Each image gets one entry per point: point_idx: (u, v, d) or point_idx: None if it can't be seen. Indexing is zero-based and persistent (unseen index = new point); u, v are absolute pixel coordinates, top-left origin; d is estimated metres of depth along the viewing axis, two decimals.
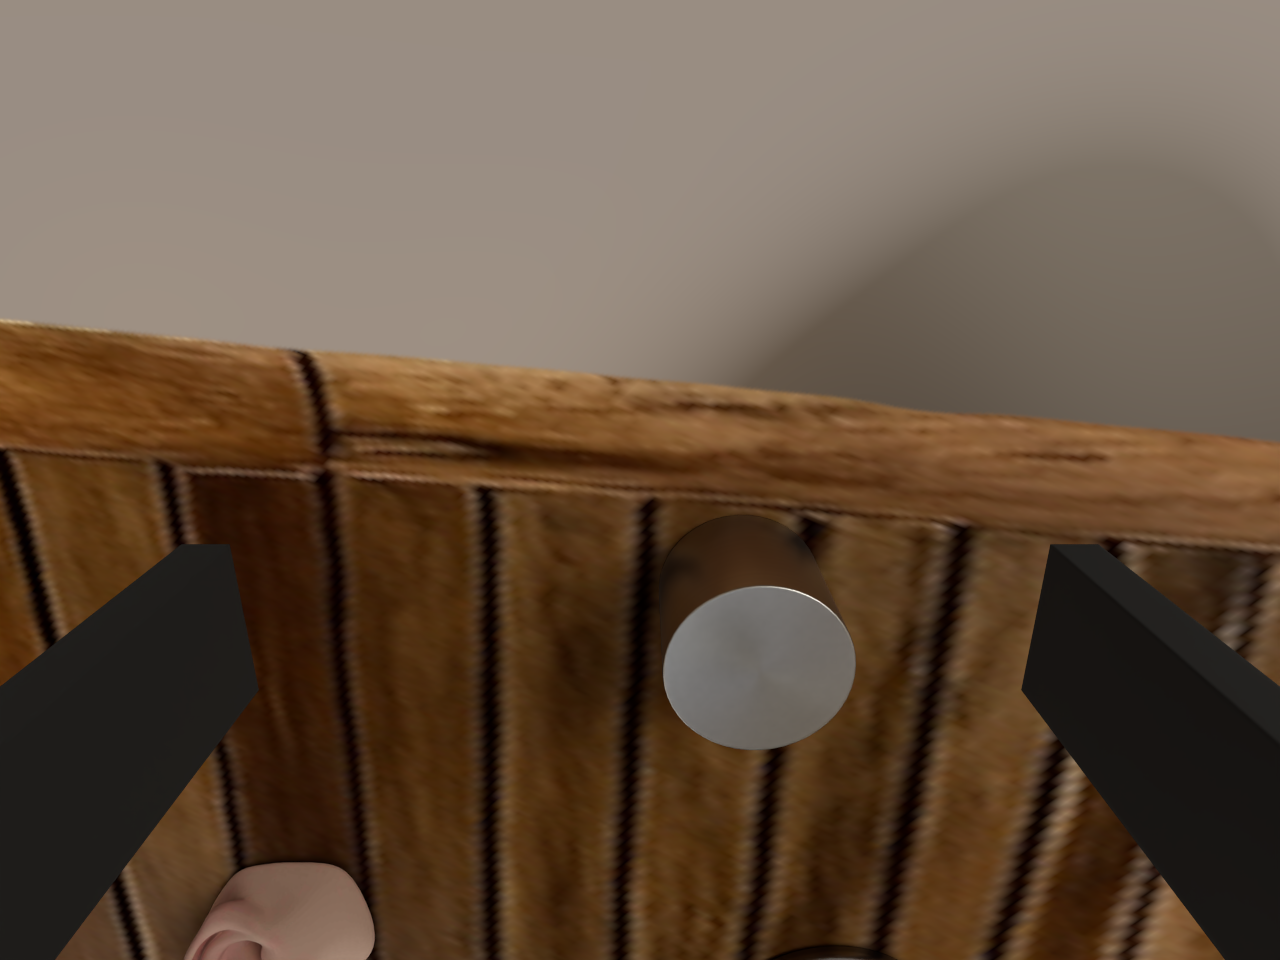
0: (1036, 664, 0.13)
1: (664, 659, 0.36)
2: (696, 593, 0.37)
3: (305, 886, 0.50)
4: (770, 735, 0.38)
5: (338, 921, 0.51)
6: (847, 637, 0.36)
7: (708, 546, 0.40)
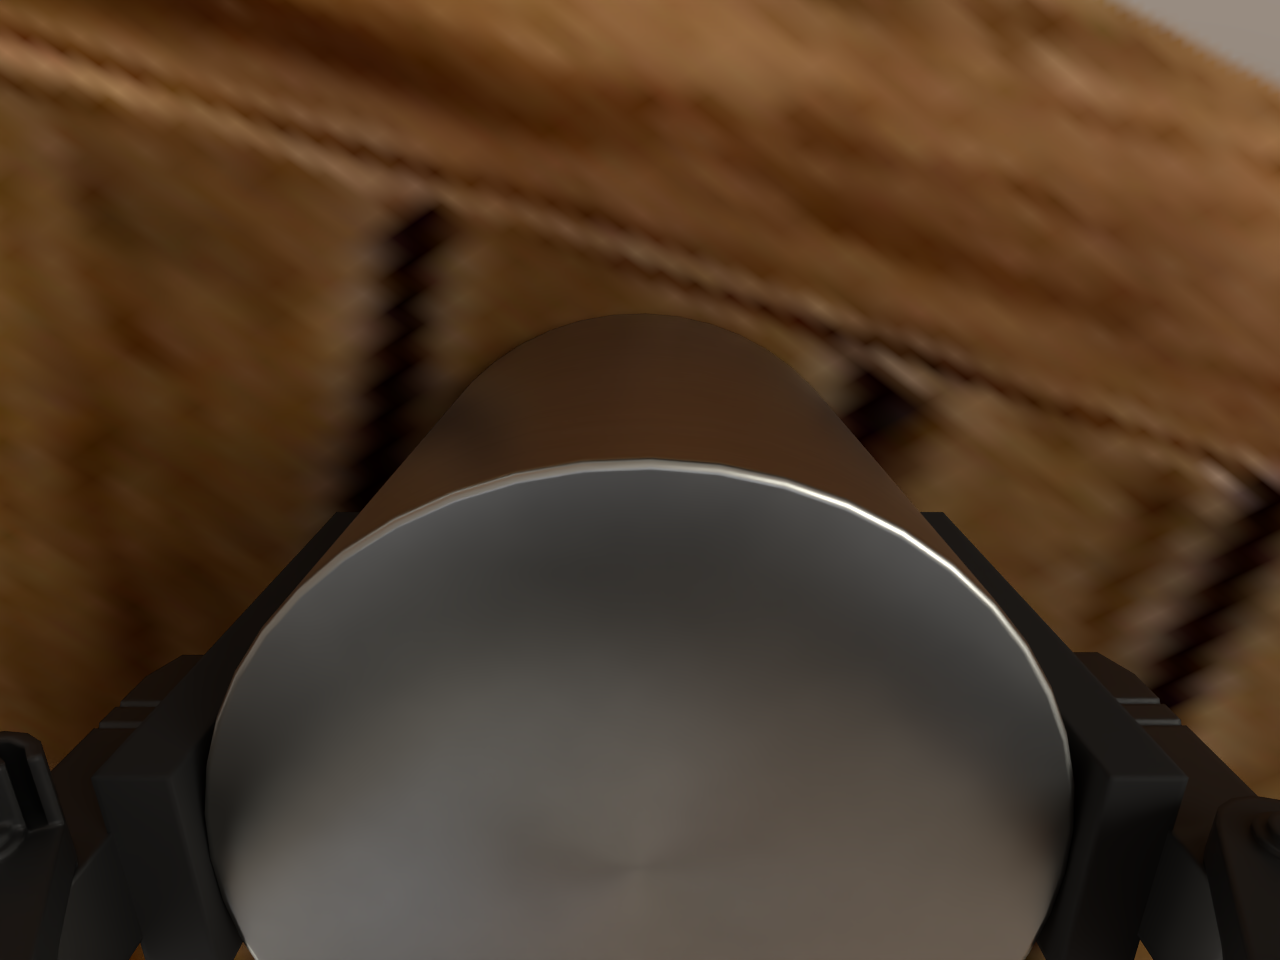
0: None
1: (215, 738, 0.08)
2: (433, 466, 0.08)
3: None
4: None
5: None
6: (1063, 794, 0.08)
7: (561, 354, 0.11)
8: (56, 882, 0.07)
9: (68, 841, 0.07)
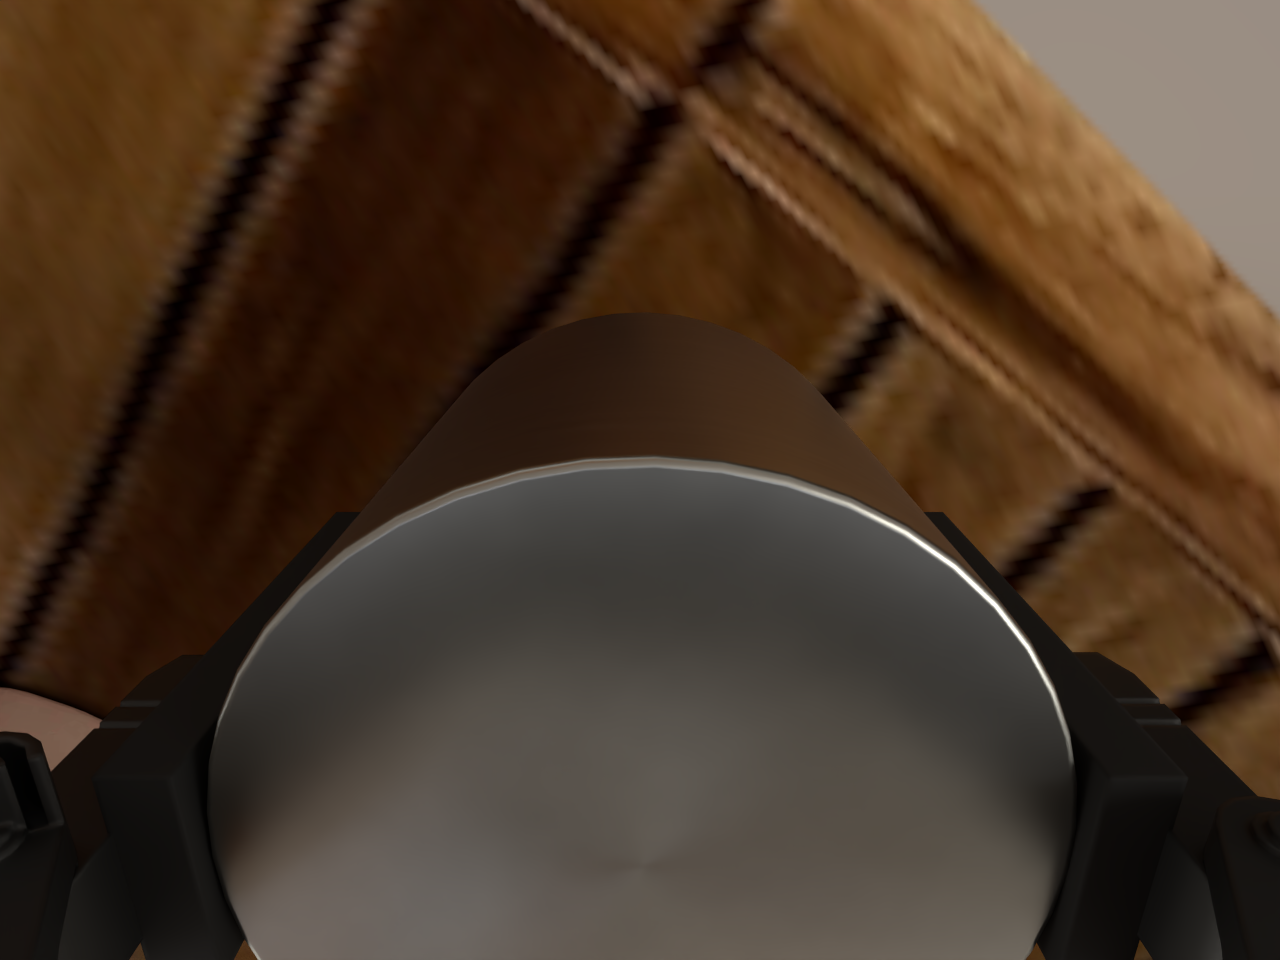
0: None
1: (217, 736, 0.08)
2: (435, 463, 0.08)
3: None
4: None
5: None
6: (1066, 793, 0.08)
7: (563, 352, 0.11)
8: (57, 881, 0.07)
9: (69, 840, 0.07)
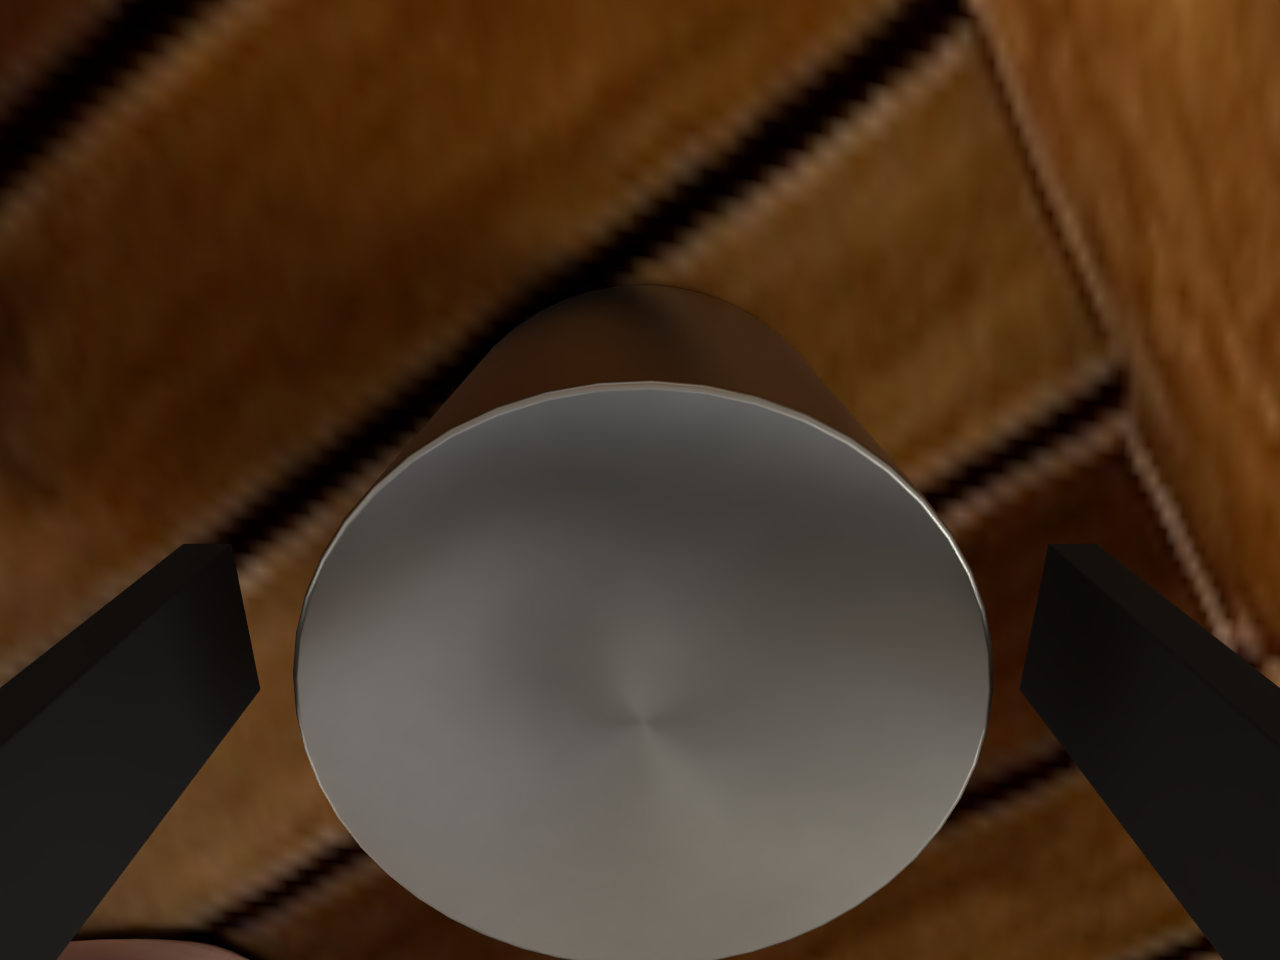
0: (1034, 663, 0.13)
1: (303, 612, 0.10)
2: (476, 396, 0.10)
3: None
4: (637, 929, 0.11)
5: None
6: (983, 659, 0.10)
7: (576, 315, 0.13)
8: None
9: None
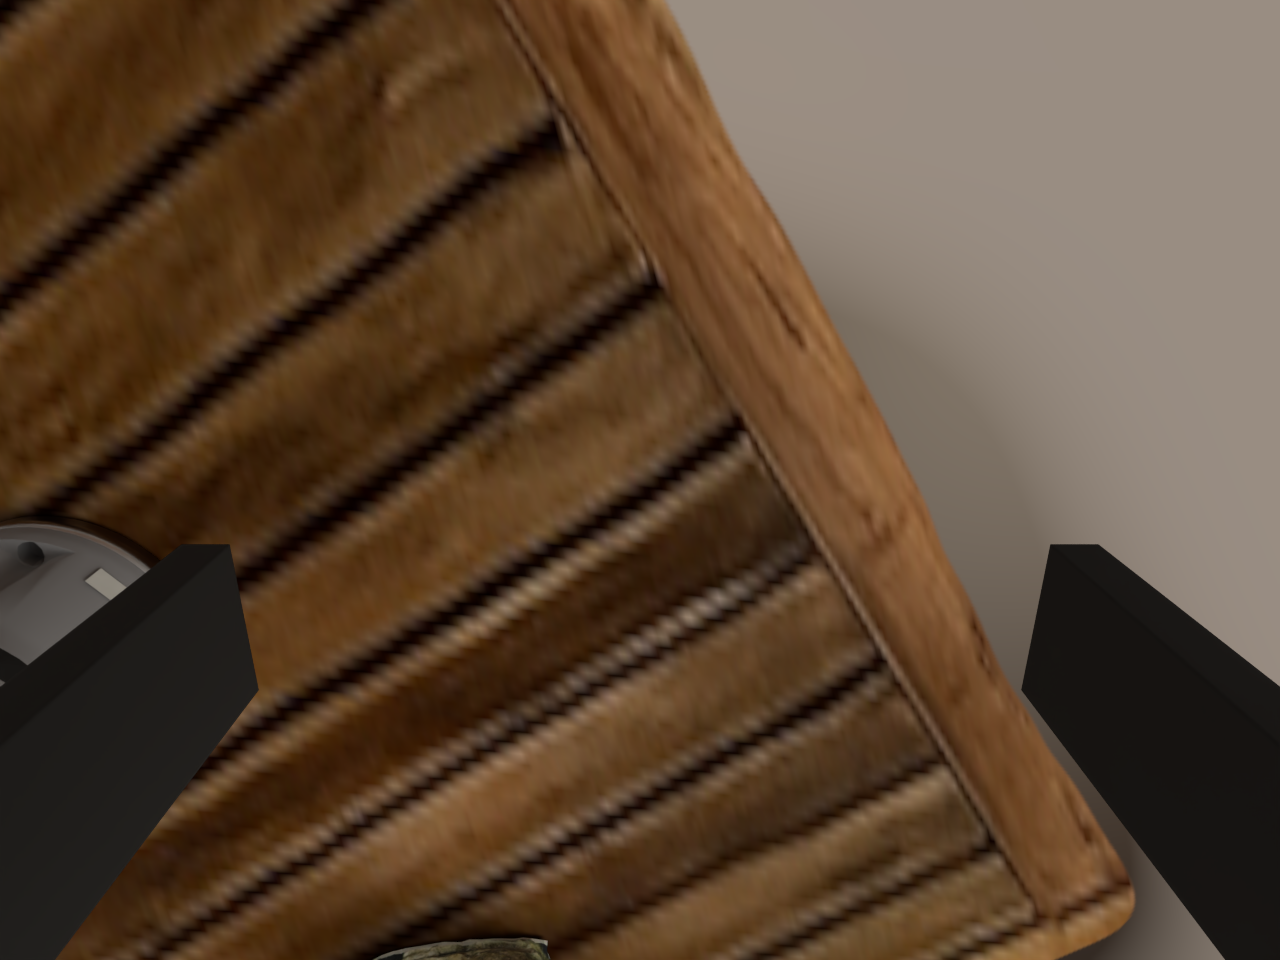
0: (1035, 664, 0.13)
1: None
2: None
3: None
4: None
5: None
6: None
7: None
8: None
9: None
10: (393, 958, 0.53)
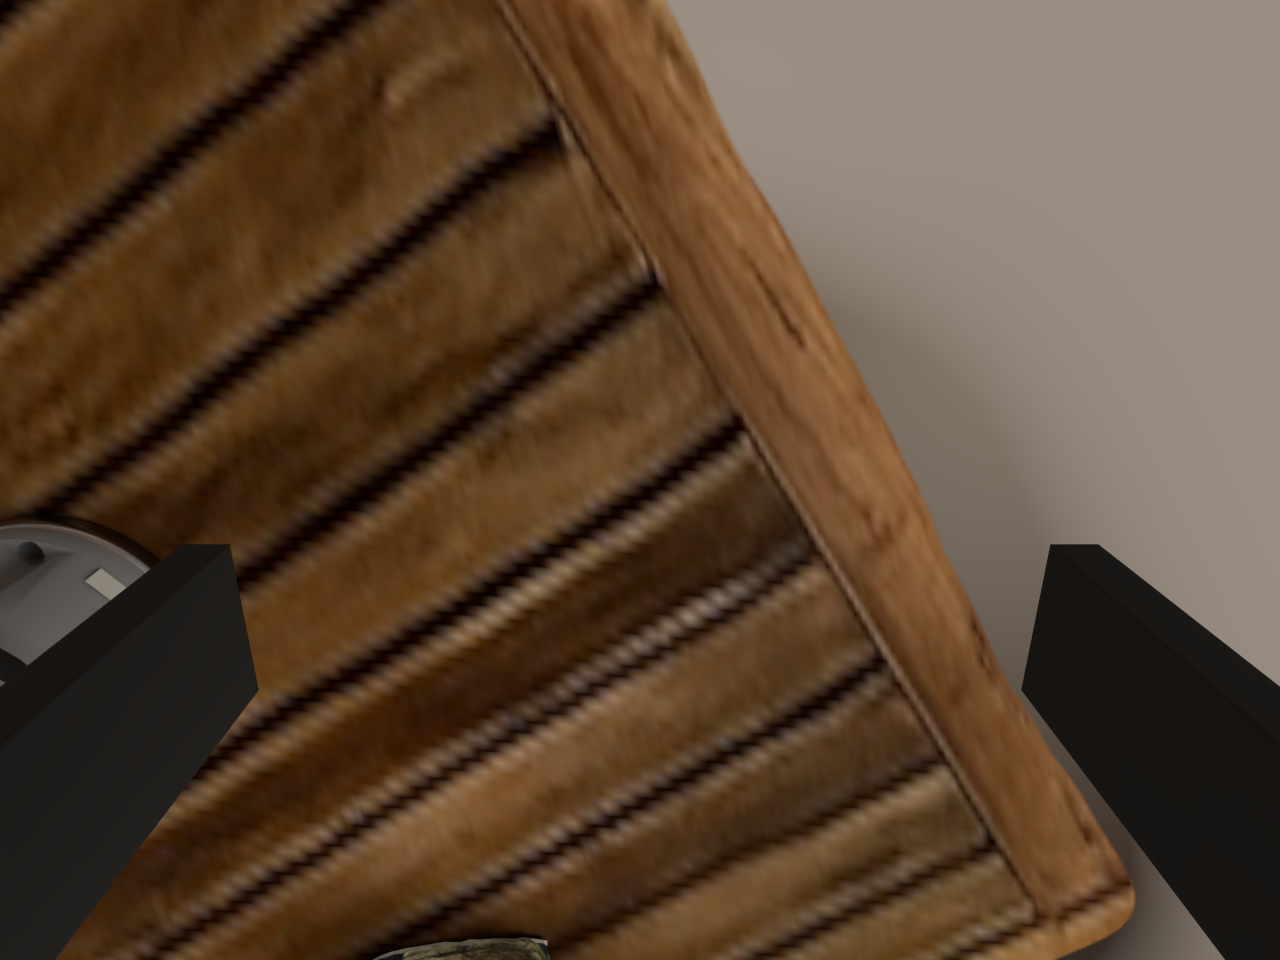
0: (1035, 664, 0.13)
1: None
2: None
3: None
4: None
5: None
6: None
7: None
8: None
9: None
10: (393, 958, 0.53)
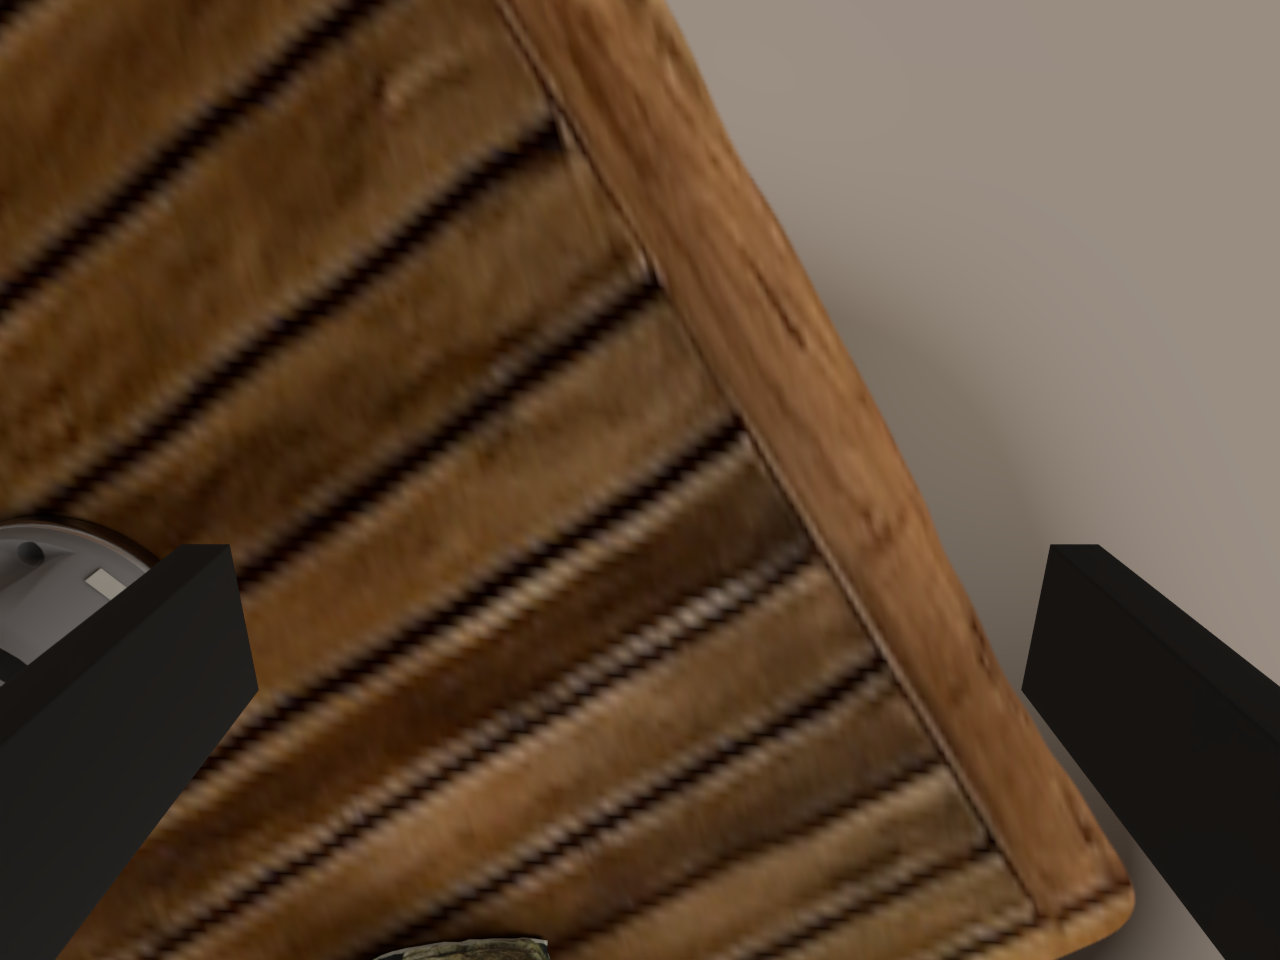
0: (1035, 664, 0.13)
1: None
2: None
3: None
4: None
5: None
6: None
7: None
8: None
9: None
10: (393, 958, 0.53)
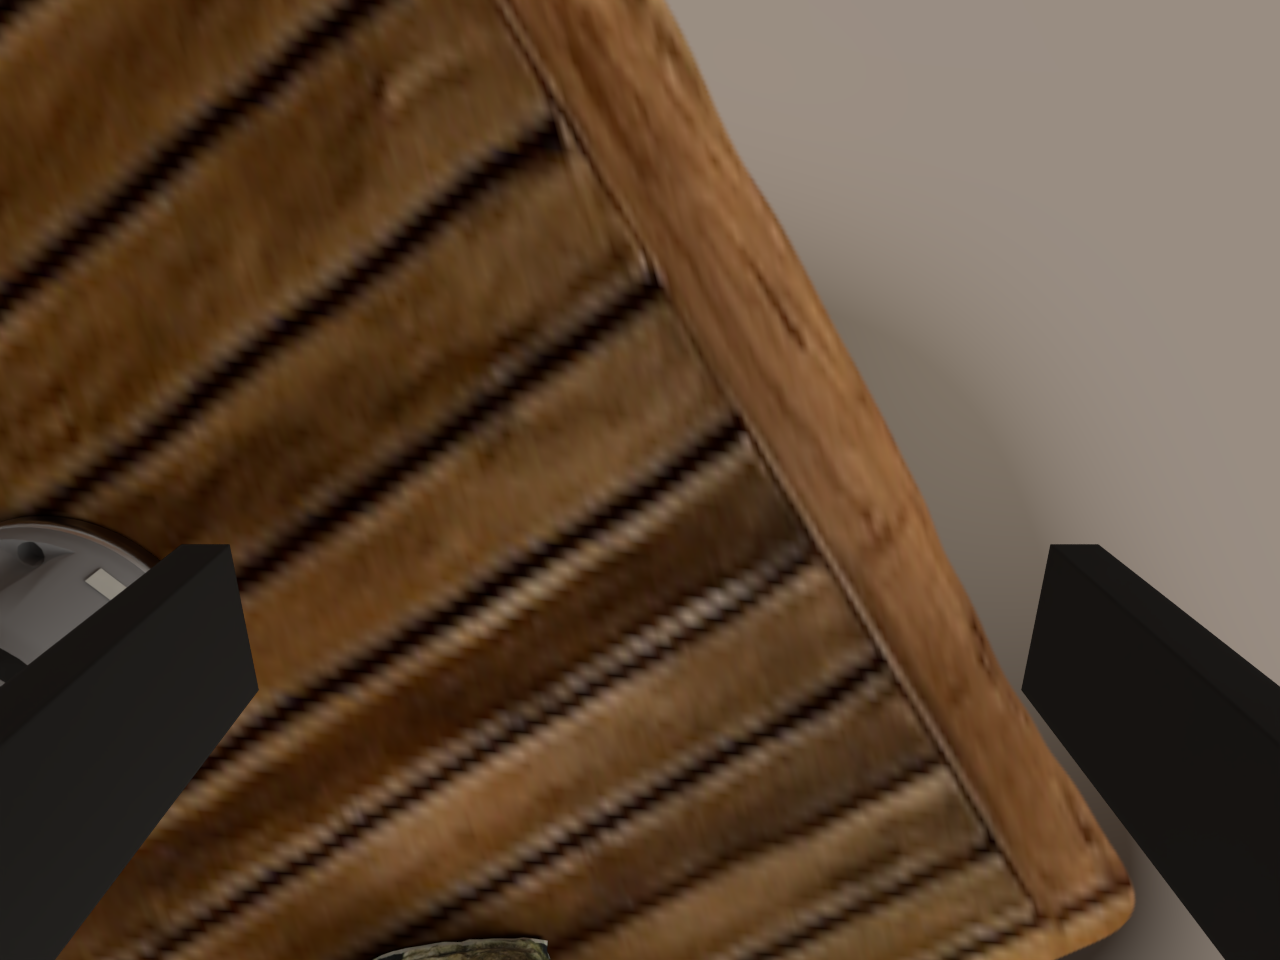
0: (1035, 664, 0.13)
1: None
2: None
3: None
4: None
5: None
6: None
7: None
8: None
9: None
10: (393, 958, 0.53)
